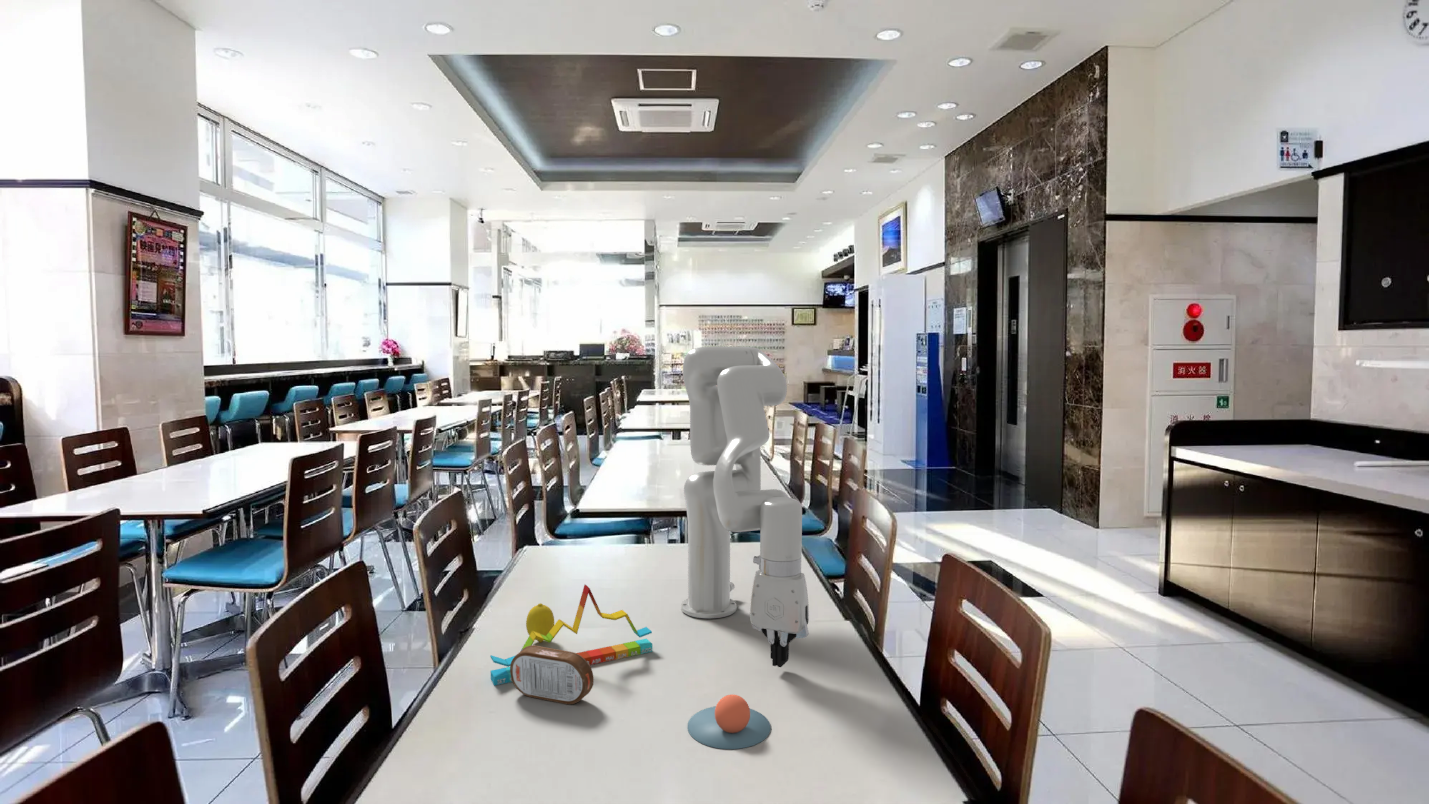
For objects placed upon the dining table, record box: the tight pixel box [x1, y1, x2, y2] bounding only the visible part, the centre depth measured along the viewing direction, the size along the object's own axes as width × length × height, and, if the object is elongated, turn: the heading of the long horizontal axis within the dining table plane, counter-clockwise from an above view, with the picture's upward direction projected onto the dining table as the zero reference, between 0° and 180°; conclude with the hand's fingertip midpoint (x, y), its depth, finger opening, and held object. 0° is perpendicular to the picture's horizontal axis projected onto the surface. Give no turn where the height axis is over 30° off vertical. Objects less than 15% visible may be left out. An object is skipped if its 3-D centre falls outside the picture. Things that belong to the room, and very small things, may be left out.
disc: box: [687, 705, 771, 750], centre depth 115 cm, size 13×13×1 cm
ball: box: [715, 694, 751, 733], centre depth 113 cm, size 6×6×6 cm
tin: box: [509, 644, 595, 705], centre depth 123 cm, size 15×3×8 cm, turn 71°
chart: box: [490, 584, 653, 687], centre depth 136 cm, size 30×3×15 cm, turn 119°
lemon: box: [525, 602, 555, 643], centre depth 147 cm, size 6×6×8 cm
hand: (779, 663), depth 134 cm, fingers closed
